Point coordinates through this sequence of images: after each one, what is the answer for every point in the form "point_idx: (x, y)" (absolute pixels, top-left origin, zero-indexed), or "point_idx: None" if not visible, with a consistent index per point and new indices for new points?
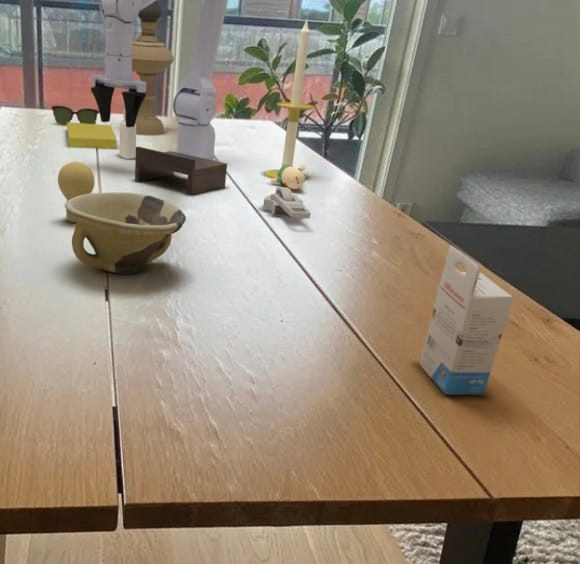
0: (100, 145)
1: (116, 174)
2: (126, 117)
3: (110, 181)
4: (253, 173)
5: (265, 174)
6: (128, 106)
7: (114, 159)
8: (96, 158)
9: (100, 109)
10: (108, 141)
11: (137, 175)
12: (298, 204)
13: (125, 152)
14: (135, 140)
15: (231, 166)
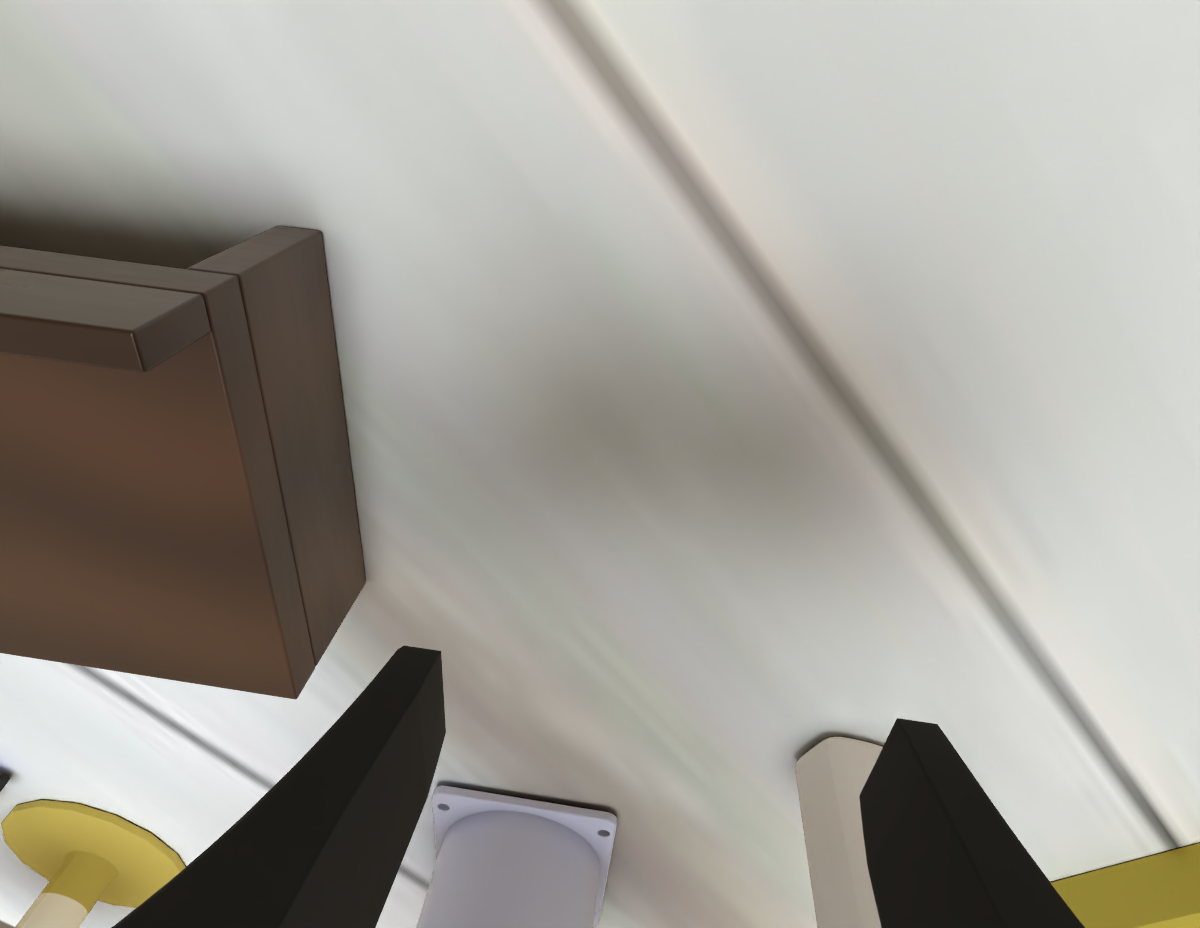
0: (1159, 872)
1: (585, 315)
2: (361, 742)
3: (418, 14)
4: (190, 824)
5: (146, 831)
6: (169, 909)
7: (901, 686)
8: (1034, 639)
9: (1005, 885)
10: (1117, 914)
11: (265, 237)
12: None
13: (857, 769)
14: (809, 870)
15: None
